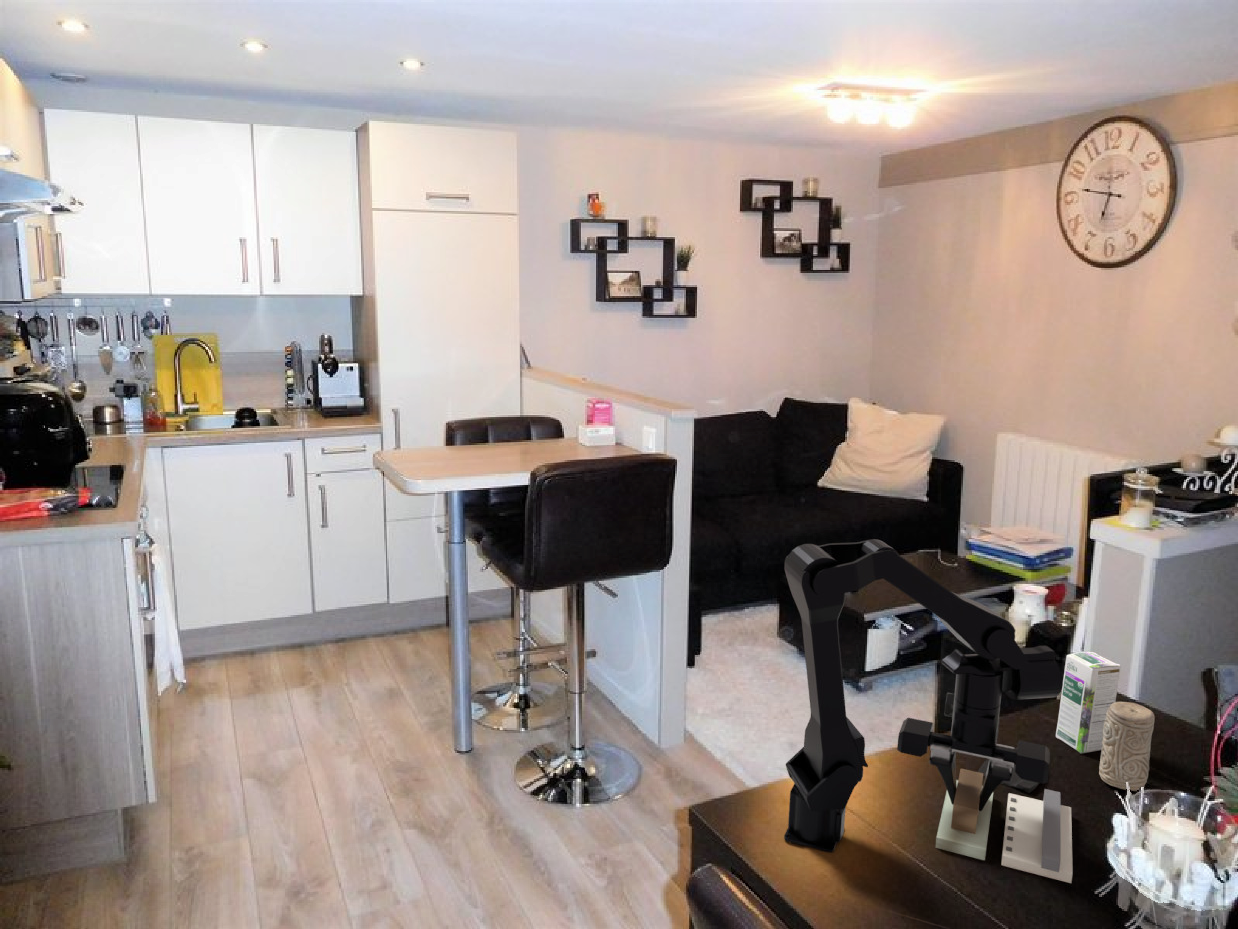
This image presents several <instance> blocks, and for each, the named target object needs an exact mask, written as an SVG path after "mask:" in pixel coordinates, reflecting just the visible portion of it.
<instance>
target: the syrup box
mask: <svg viewBox="0 0 1238 929" xmlns="http://www.w3.org/2000/svg"><path fill="white" fill-rule="evenodd" d="M1121 666H1122V665H1121V664H1119V663H1116V662H1114V661H1111V660H1110V659H1107V658H1105V657H1104V656H1101V655H1099V654H1097V653H1096V652H1095V651H1080V652H1075V653H1074V652H1073V653H1069V654H1067V655H1066V658H1065V665H1064V673H1063V678H1062V679H1063V687H1062V690H1061V695H1060V696H1061V697H1060V703H1059V711H1058V718H1057V725H1056V731H1055V738H1057V739H1058V740H1060V741H1062V742H1063V743H1065V744H1066V745H1068V746H1069V747H1071V748H1073V749H1074V750H1075V751H1077V752H1078V753H1079V754H1086V753H1093V752H1097V751H1101V750H1102V746H1103V744H1102V741H1103V727H1104V722H1105V718H1106V712H1107V711H1108V708H1109V707H1110V706H1111V704H1113V703H1115V702H1117V700H1116V699H1117V694H1118V686H1119V681H1120V673H1121Z"/></svg>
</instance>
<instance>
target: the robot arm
mask: <svg viewBox="0 0 1238 929" xmlns="http://www.w3.org/2000/svg"><path fill="white" fill-rule="evenodd" d="M784 572H785V575H786V576H785V577H786V579H787V583H788V586H789V590H790V592H791V595H792V598H793V600H794V603H795V604H796V607H797V610H798V613H799V615H800V618H801V628H802V635H803V636H802V637H803V638H802V639H803V647H804V658H805V668H806V677H807V688H808V695H809V696H808V698H809V708H810V716H809V720H808V723H807V725H806V727H805V730H804V740H803V747H801V749H799V751H797V752H796V753H795V754H794V755H793V756H792V757H791V758H790V759H789V760H788V761H787V762H786V763H785V767H786V771H787V774H788V776H789V778H790V779H791V780H792V782H793V785H792V787H791V789H790V792H789V804H788V805H789V806H788V821H787V822H788V824H787V826H788V827H787V829H786V830H785V832H784V835H783V839H784V841H786V842H789V843H794V844H795V845H800V846H804V847H807V848H811V849H814V850H818V851H821V852H826V853H829V854H831V853H834V850H836V849H835V848H836V846H837V843H840V842H841V840H842V838H843V836H844V832H845V821H846V807H847V804H848V802H849V800H850V799H851V796H852V794H853V791H854V789H855V787H856V786H857V784H859V783H861V781H862V780H863V777H864V768H868V767H869V765H868V764H869V763H868V762H867V760H866V758H865V751H866V750H865V749H866V748H865V747H866V741H865V736H863V734H862V733H861V732H860V731H859V729H858V728H857V727H856V726H855V725H854V723H853V722H852V721H851V720H850V719H849V718H848V716H847V712H846V711H847V710H846V700H845V690H844V687H845V686H844V677H843V666H842V656H841V655H842V654H841V646H840V632H839V618H840V615H841V613H842V609H843V607H844V605H845V603H846V601H845V600H846V594H847V593H851V592H856V591H859V590H861V589H862V588H865V587H866V586H868V585H870V584H872V583H874V582H875V581H879V580H885V581H886V582H887V583H889V584H890V585H892V586H894V588H896V589H898V591H900V592H902V593H903V594H905V595H906V596H908V597H909V598H911V599H912V600H914V602H916V603H918V604H919V605H921V606H922V607H924V608H925V609H927V610H928V611H929V612H931V613H932V614H934V615H935V616H936V617H937V618H938V619H939V620H940V622H941V623H942V624H943V626H945V628H947V630H949V632H951V633H952V635H954V637H955V638H956V639H957V640H959V641H960V642H961V643H962V644H964V646H966V647H967V648H969V649H970V650H972V651H973V652H974V654H973V653H972V654H964V653H963V652H961V650H959V649H957V648H956V649H954V650H953V651H952V653H951V654H948V655H946V656H945V657H944V658H942V659H941V664H942V665H943V666H944V667H945V668H947V669H948V670H949V671H950V672H952V674H954V675H955V686H954V687H955V688H954V693H953V692H947V693H946V697H945V704H944V711H943V712H944V713H943V714H944V716H945V717H951V720H952V722H951V730H950V735H948V734H945V733H944V734H943V733H938V732H934V722H933V721H926V720H921V719H917V718H911V717H907V718H905V719H904V720H903V721H902V725H901V727H900V730H899V732H898V738H897V747H896V749H897V751H898V752H900V753H901V754H906V755H910V756H914V757H915V756H916V757H920V758H921V757H923V756H924V755H926V754H927V753H928V749H929V748H930V751H931V752H930V755H929V758H928V762H929V764H930V765H932V766H935V767H936V768H937V771H938V772H939V774H940V776H941V778H942V780H943V782H944V784H945V787H946V792H947V791H948V794H949V797H950V800H951V803H952V804H954V799H955V794H956V789H957V783H956V780H957V764H956V763H957V762H956V761H957V760H956V759H957V753H959V754H963V755H968V756H973V757H978V758H983V759H986V760H987V759H989V763H988V768H987V772H986V776H985V778H983V782H982V786H983V787H982V791H981V795H980V801H979V811H982V810H983V808H984V806H985V804H986V803H987V801H988V799H989V798H990V796H991V794H992V793H993V794H994V792H995V790H996V789H997V788H998V787H999V786H1000V785H1002V784H1001V782H1002V781H1011V780H1012V770H1013V768H1014V765H1016V768H1015V773H1016V774H1017V775H1018V776H1019V777H1020V778H1021V779H1023V780H1028V781H1033V782H1037V783H1039V784H1047V783H1048V782H1049V773H1050V762H1051V760H1050V758H1051V751H1050V750H1049V748H1048V747H1047V745H1045V744H1044V745H1043V744H1040V743H1036V742H1035V743H1034V742H1031V741H1030V742H1028V741H1024V740H1020V739H1018V740H1017V747H1018V748H1017V747H1016V748H1017V750H1016V749H1014V748H1015V747H1014V746H1010V745H1005V744H1001V743H1000V744H999V743H997V741H998V738H999V729H1000V713H1001V712H1000V711H1001V701H1002V700H1001V699H1002V694H1003V693H1005V694H1006V695H1007V697H1009V699H1012V700H1013V701H1015V700H1016V701H1017V700H1019V701H1020V700H1030V699H1031V700H1032V699H1048V698H1056V697H1058V696H1059V695H1060V694H1061V693H1062V687H1063V679H1064V678H1062V672H1061V669H1060V665H1059V664H1058V662H1057V660H1056V651H1055V650H1053V649H1052V648H1050V647H1049V646H1047V645H1038V646H1035V647H1034V646H1033V647H1025V648H1024V647H1023V648H1020V646H1019V645H1018V643H1017V641H1016V640H1015V639H1016V631H1017V630H1016V628H1015V626H1014V625H1013V624H1012V623H1011V622H1010V621H1009V620H1008V619H1006V618H1005V617H1002V616H1001V615H1000V614H998V612H997V613H996V612H995V611H994V610H992V609H991V608H989V607H988V606H986V605H984V604H983V603H980V602H978V601H976V600H973V599H972V598H969V597H966V596H965V595H960V594H958V593H955V592H953V591H951V590H949V589H948V588H947V587H945V586H944V585H942V584H940V583H939V582H938V581H937V580H935V579H933V577H931V576H929V575H928V574H927V573H925V572H924V571H923V570H921V569H920V568H918V567H917V566H915V565H914V564H912V563H911V562H910V561H908V560H907V559H905V558H904V557H903V556H902V555H900V554H899V552H898V551H897V550H896V549H895V548H893V547H892V546H890V545H888V544H887V543H886V542H884V541H882V540H880V539H875V538H873V539H867V540H860V541H858V542H836V543H835V542H832V543H826V544H822V545H821V544H820V545H817V544H813V543H804V544H801V545H797V546H796V547H795V548H793V549H792V550H791V551H790V553H789V554H788V555H787V556H786V557H785V559H784ZM1002 692H1003V693H1002Z"/></svg>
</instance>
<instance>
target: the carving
mask: <svg viewBox="0 0 1238 929" xmlns="http://www.w3.org/2000/svg"><path fill="white" fill-rule="evenodd" d="M1154 727H1155V713H1154V712H1153V711H1152V710H1151V709H1149V708H1146V707H1145V706H1143V705H1141V704H1138V703H1136V702H1127V701H1115V703H1113V704H1111V706H1110V707H1109V708H1108V711H1107V712H1106V718H1105V722H1104V727H1103V741H1102V744H1103V746H1102V750H1100V751H1101V752H1100V759H1099V760H1100V761H1099V767H1098V768H1099V771H1098V774H1099V777H1100V778H1101V780H1102V781H1103V782H1104V783H1105V784H1108V785H1109V786H1112V787H1115V788H1118V789H1121V790H1125V791H1127V790H1126V782H1129V786H1130V789H1131V792H1132V791H1133V792H1138V791H1137V790H1139V788H1140V787H1144V788H1145V785H1146V784H1147V782H1148V778H1149V771H1150V757H1151V753H1150V752H1151V742H1152V737H1153V736H1152V735H1153V732H1154Z"/></svg>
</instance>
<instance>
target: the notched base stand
mask: <svg viewBox="0 0 1238 929" xmlns="http://www.w3.org/2000/svg"><path fill="white" fill-rule="evenodd" d="M1043 792H1044V793H1043V799H1042V800H1040V799H1036V798H1032V797H1027V796H1022V795H1019V794H1015V793H1010V792H1009V793H1008V794H1007V804H1006V805H1007V806H1006V816H1005V825H1004V832H1003V833H1004V836H1003V843H1002V854H1001V866H1003V867H1007V868H1011V869H1014V870H1018V871H1023V872H1025V873H1030V874H1035V875H1038V876H1042V877H1045V878H1049V879H1052V880H1058V881H1061V882H1065V883H1069V884H1072V881H1073V872H1074V871H1073V839H1072V838H1073V836H1072V835H1073V832H1072V827H1073V826H1072V806H1071V807H1070V806H1066V805H1063V804H1061V792H1060V791H1055V790H1051V789H1048V788H1047V789H1046V788H1044V790H1043Z"/></svg>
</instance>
